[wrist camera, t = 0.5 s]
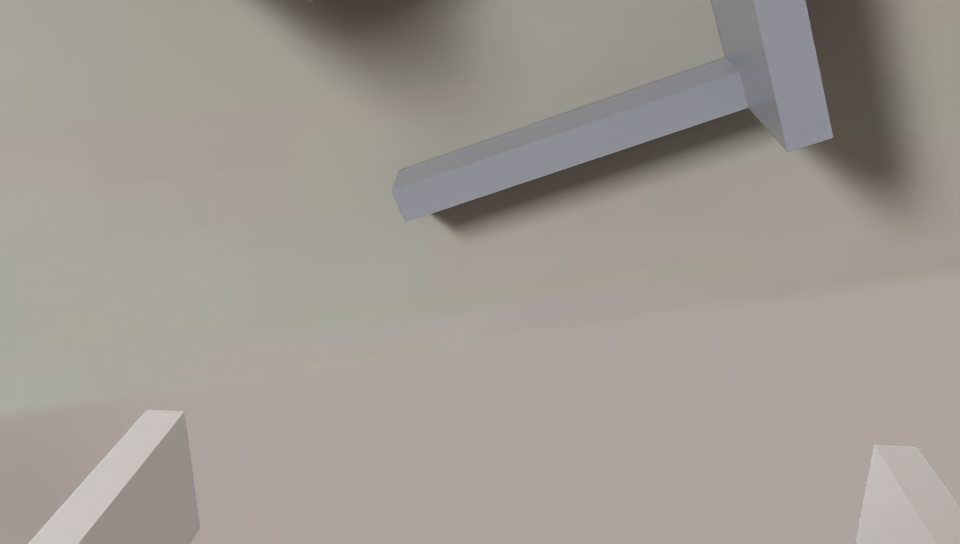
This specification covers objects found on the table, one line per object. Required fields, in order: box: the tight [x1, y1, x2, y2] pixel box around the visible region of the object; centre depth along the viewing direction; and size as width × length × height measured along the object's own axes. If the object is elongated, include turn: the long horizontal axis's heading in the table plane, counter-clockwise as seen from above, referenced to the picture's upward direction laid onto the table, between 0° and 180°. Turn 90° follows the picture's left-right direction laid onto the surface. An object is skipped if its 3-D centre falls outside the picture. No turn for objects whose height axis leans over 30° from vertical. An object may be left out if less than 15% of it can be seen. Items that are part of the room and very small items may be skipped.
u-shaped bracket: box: [308, 0, 833, 222], centre depth 31 cm, size 16×11×8 cm
